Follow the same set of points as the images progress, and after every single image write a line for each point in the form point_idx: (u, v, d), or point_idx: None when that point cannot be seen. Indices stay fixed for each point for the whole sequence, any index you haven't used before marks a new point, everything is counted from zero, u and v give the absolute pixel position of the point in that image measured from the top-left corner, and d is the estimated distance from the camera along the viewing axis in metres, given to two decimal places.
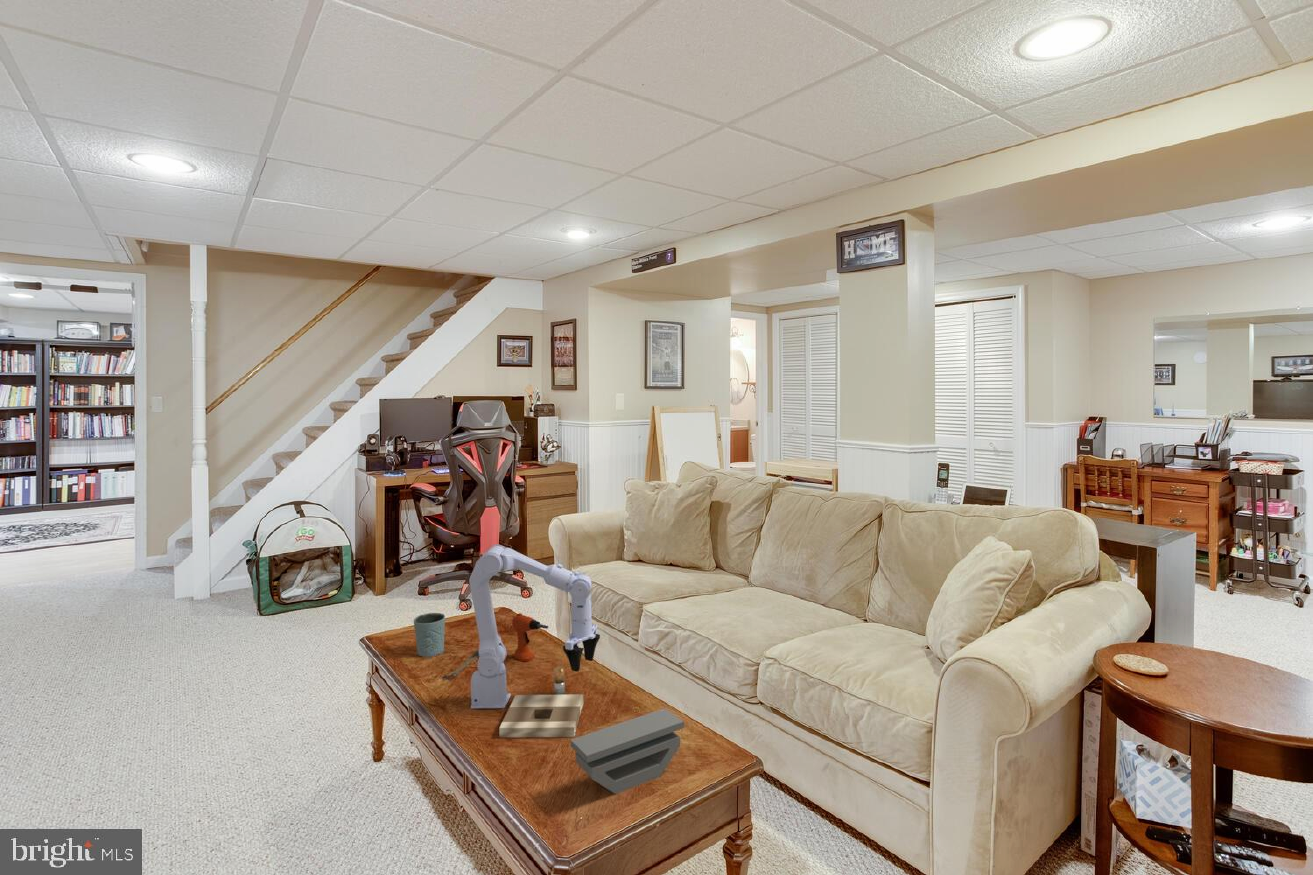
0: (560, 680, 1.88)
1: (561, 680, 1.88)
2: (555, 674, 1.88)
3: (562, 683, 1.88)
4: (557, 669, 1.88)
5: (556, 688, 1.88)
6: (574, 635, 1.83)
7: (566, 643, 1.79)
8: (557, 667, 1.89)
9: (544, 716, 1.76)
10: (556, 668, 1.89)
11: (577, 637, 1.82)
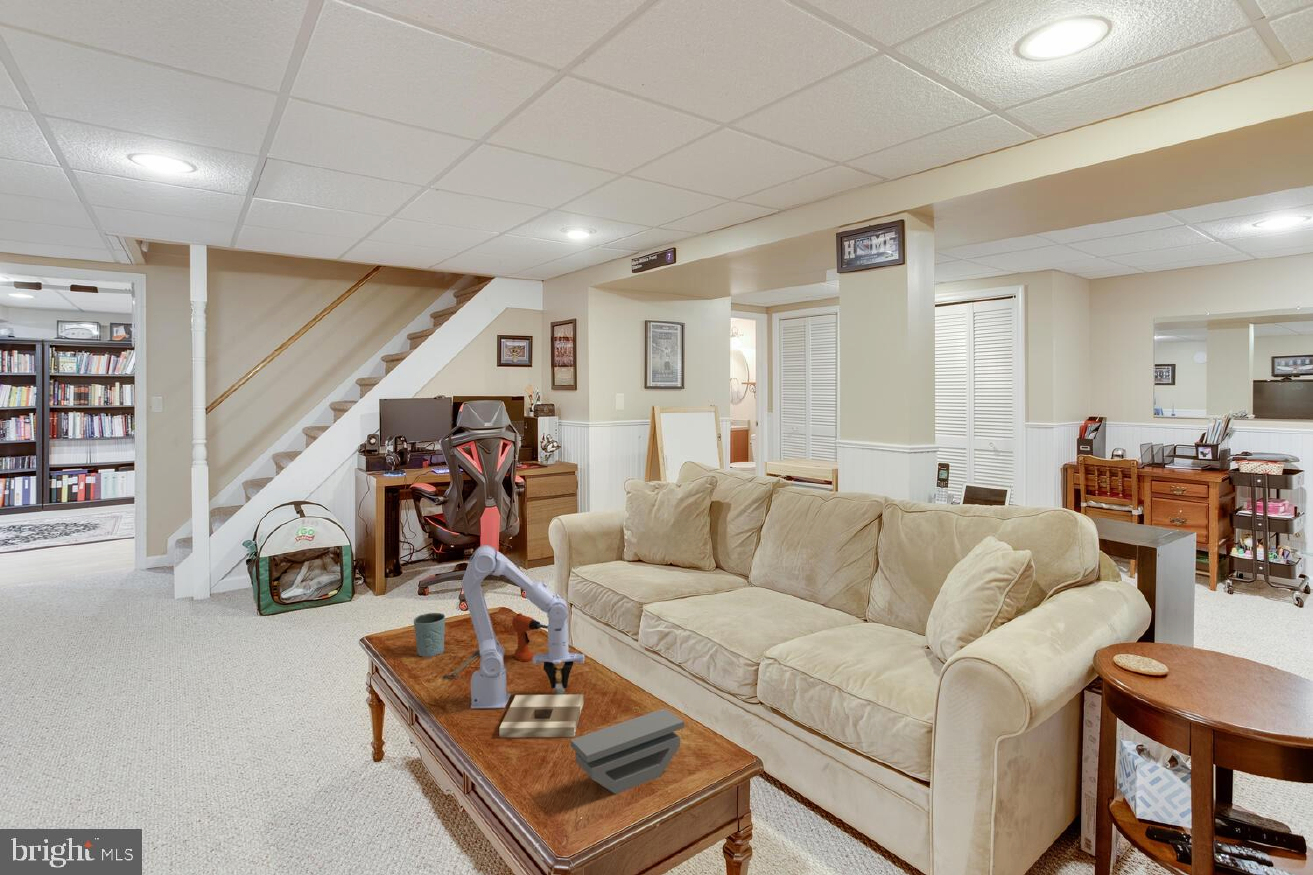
0: (560, 680, 1.88)
1: (561, 680, 1.88)
2: (555, 674, 1.88)
3: (562, 683, 1.88)
4: (557, 669, 1.88)
5: (556, 688, 1.88)
6: None
7: (533, 656, 1.90)
8: (557, 667, 1.89)
9: (544, 716, 1.76)
10: (556, 668, 1.89)
11: (548, 656, 1.89)
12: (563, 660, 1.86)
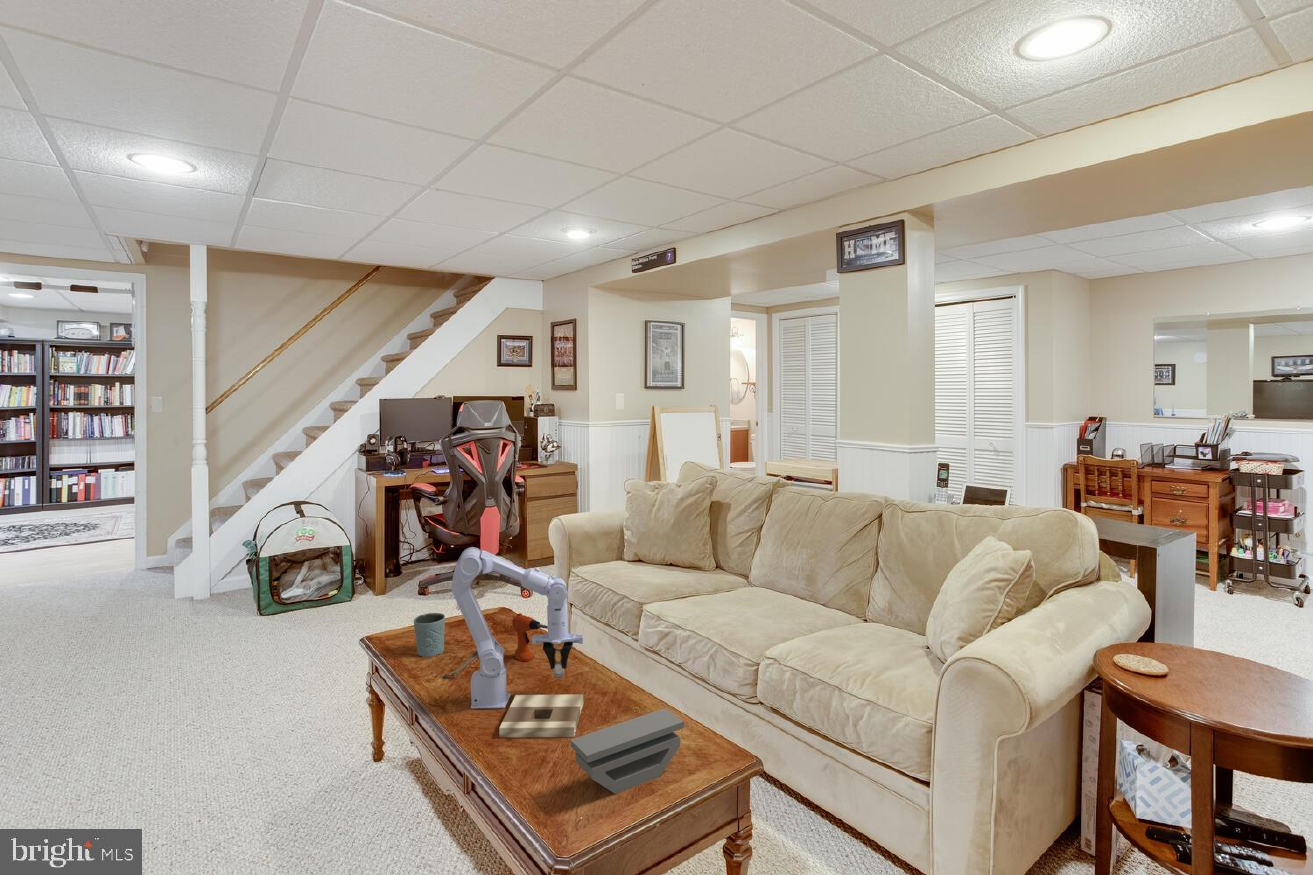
0: (559, 661, 1.88)
1: (560, 661, 1.88)
2: (554, 655, 1.88)
3: (561, 663, 1.88)
4: (556, 650, 1.88)
5: (555, 669, 1.88)
6: None
7: (533, 636, 1.89)
8: (556, 648, 1.89)
9: (544, 716, 1.76)
10: (555, 649, 1.88)
11: (547, 636, 1.88)
12: (562, 640, 1.86)
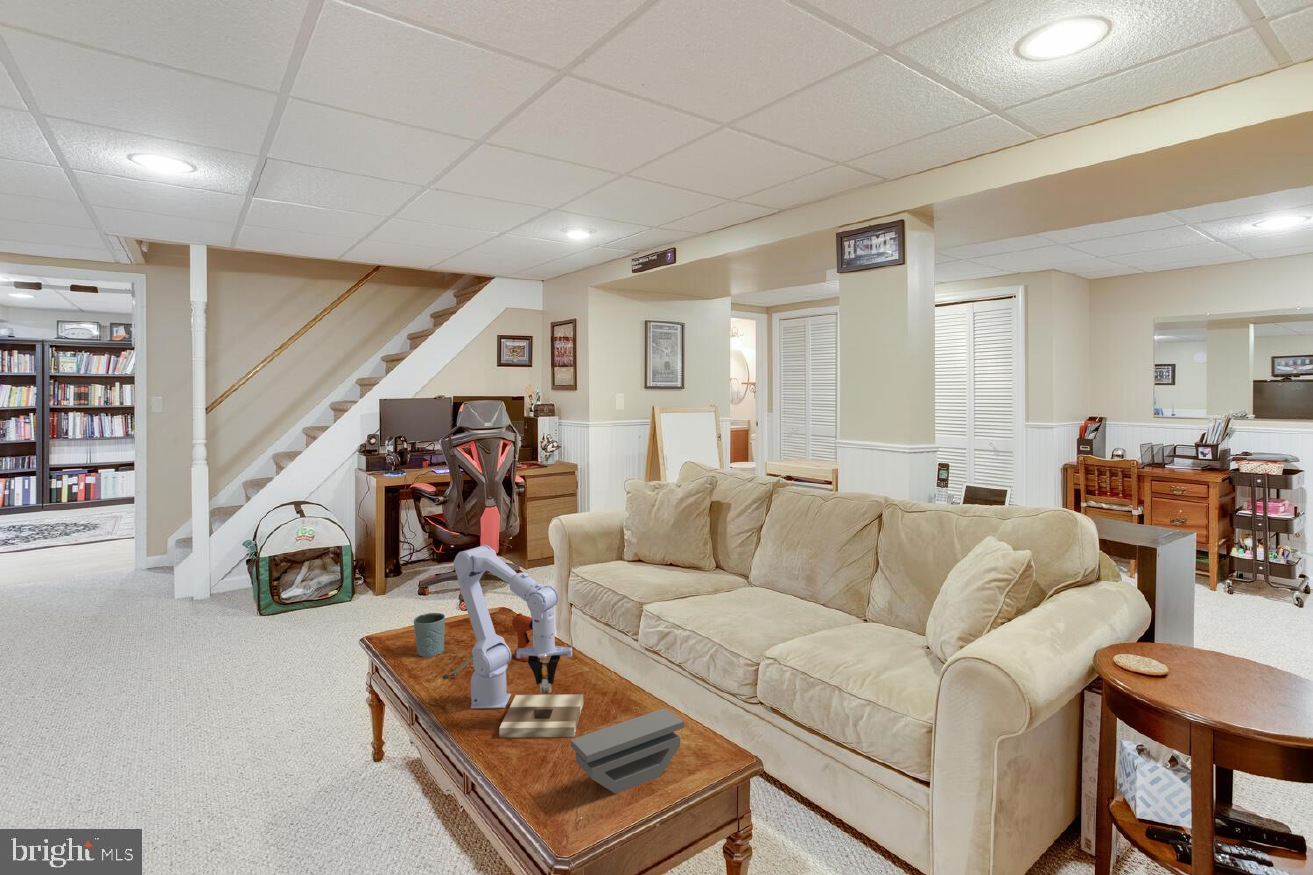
0: (546, 675, 1.75)
1: (547, 675, 1.75)
2: (541, 668, 1.75)
3: (548, 678, 1.76)
4: (543, 663, 1.76)
5: (542, 684, 1.75)
6: None
7: None
8: (543, 661, 1.77)
9: (544, 716, 1.76)
10: (542, 662, 1.76)
11: (532, 650, 1.75)
12: (549, 654, 1.73)
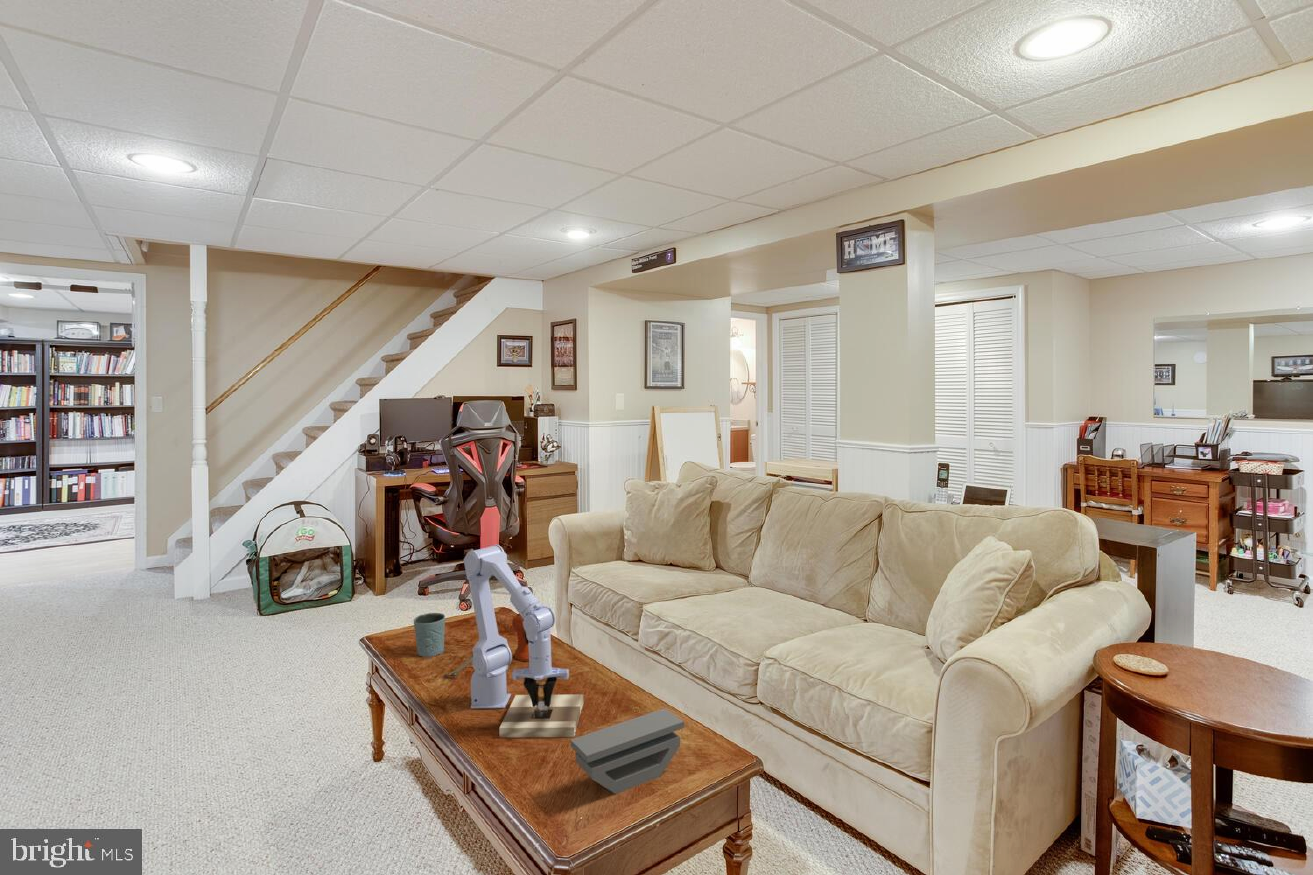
0: (542, 697, 1.72)
1: (543, 697, 1.72)
2: (537, 690, 1.72)
3: (544, 700, 1.73)
4: (539, 685, 1.73)
5: (538, 706, 1.72)
6: None
7: None
8: (539, 683, 1.74)
9: (544, 716, 1.76)
10: (538, 684, 1.73)
11: (529, 671, 1.72)
12: (545, 676, 1.70)
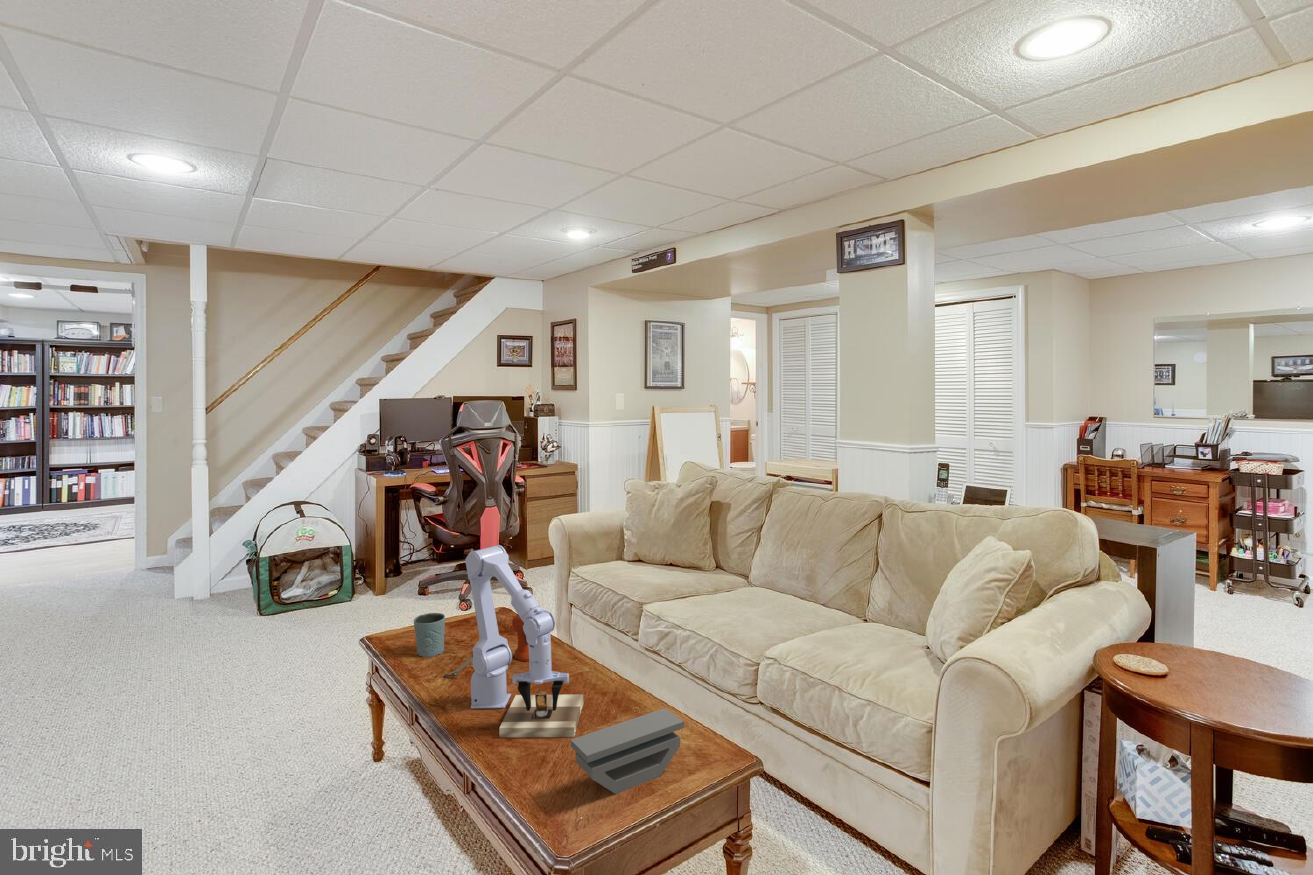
0: (542, 707, 1.72)
1: (543, 707, 1.72)
2: (536, 701, 1.72)
3: (544, 710, 1.72)
4: (539, 695, 1.72)
5: (538, 716, 1.72)
6: None
7: None
8: (538, 693, 1.73)
9: None
10: (538, 694, 1.73)
11: (529, 675, 1.73)
12: (545, 680, 1.70)
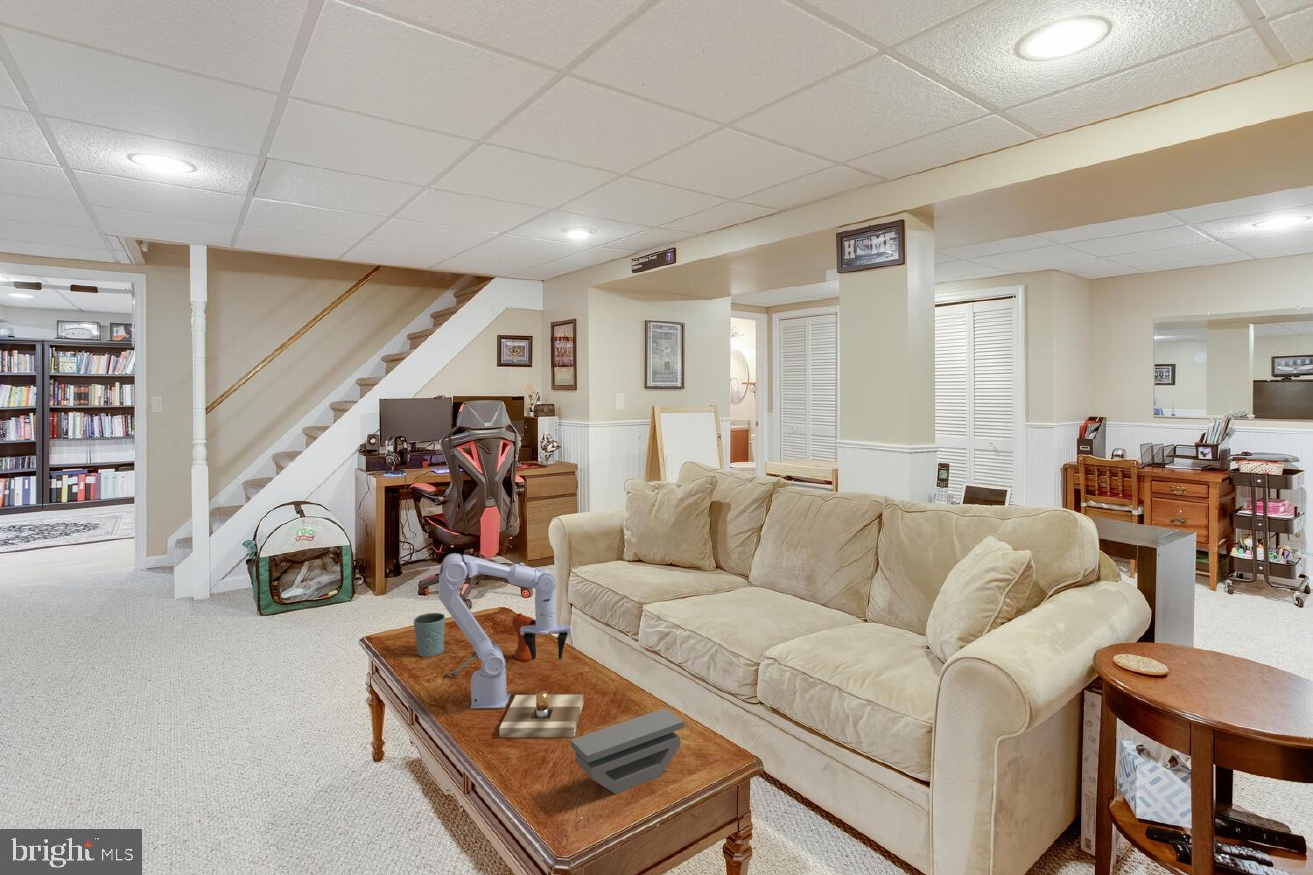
0: (542, 707, 1.72)
1: (544, 707, 1.72)
2: (537, 700, 1.72)
3: (544, 710, 1.73)
4: (539, 695, 1.73)
5: (538, 715, 1.73)
6: None
7: None
8: (539, 693, 1.74)
9: None
10: (539, 693, 1.73)
11: (535, 627, 1.89)
12: (550, 631, 1.87)
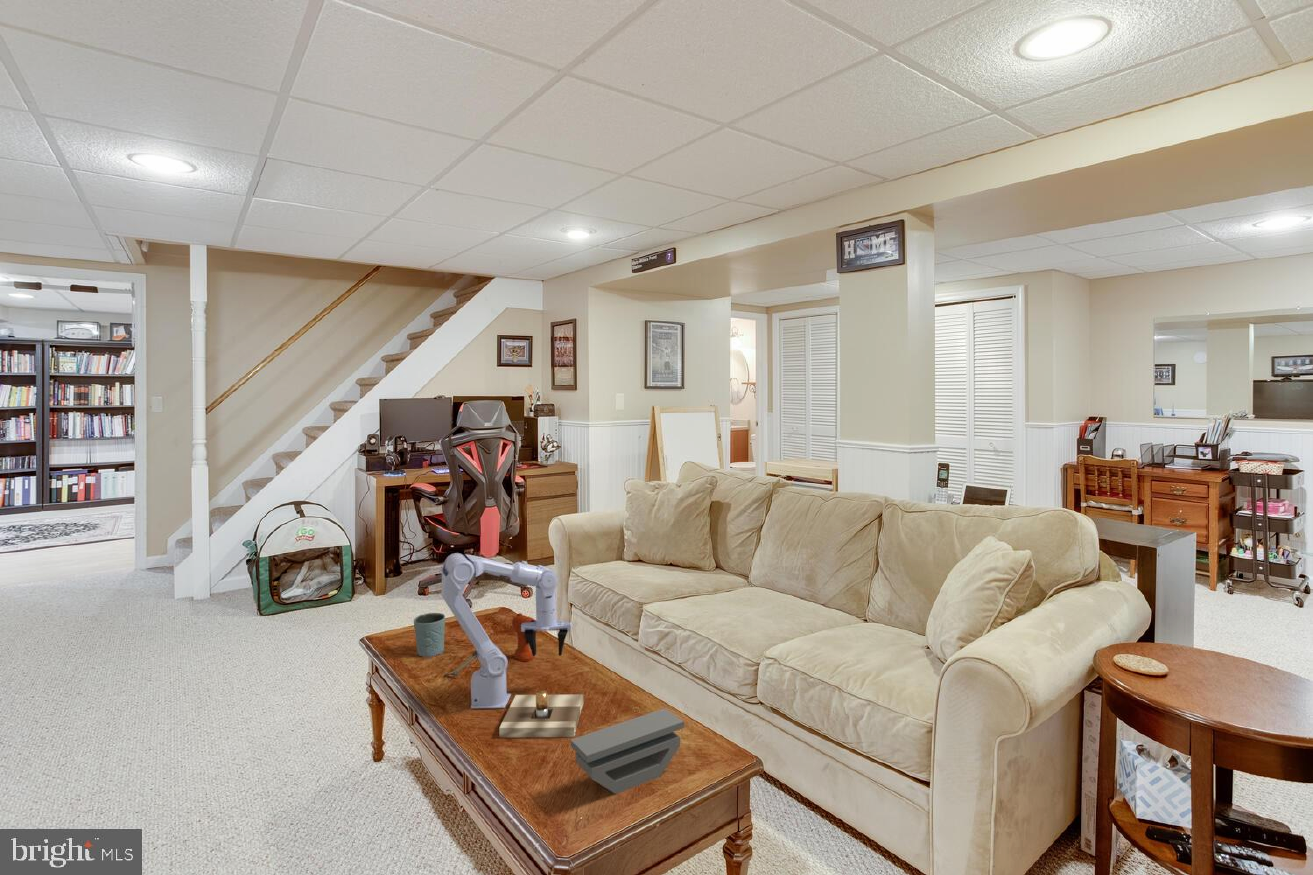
0: (542, 706, 1.72)
1: (543, 706, 1.73)
2: (537, 700, 1.73)
3: (544, 709, 1.73)
4: (539, 694, 1.73)
5: (538, 715, 1.73)
6: None
7: None
8: (539, 692, 1.74)
9: None
10: (538, 693, 1.73)
11: (536, 624, 1.92)
12: (551, 627, 1.90)
